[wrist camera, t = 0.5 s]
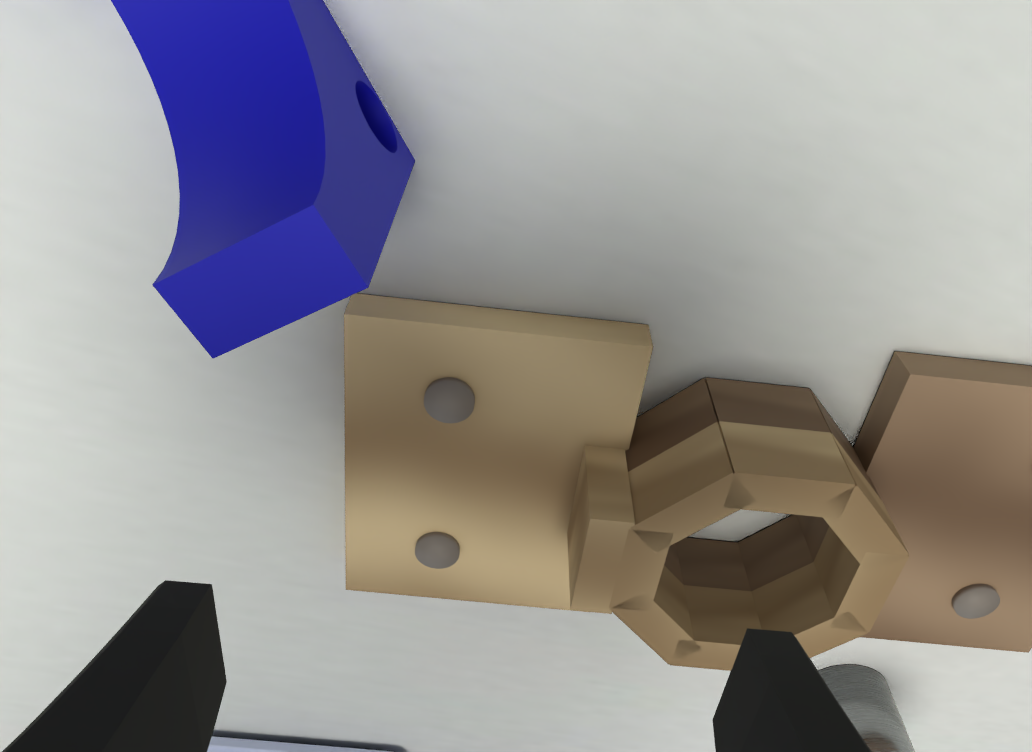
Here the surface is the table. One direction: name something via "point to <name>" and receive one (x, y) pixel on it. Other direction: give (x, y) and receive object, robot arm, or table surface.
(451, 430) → the hinge leaf
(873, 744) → the grey cylinder
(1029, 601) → the hinge plate
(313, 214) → the blue u-shaped block
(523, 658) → the table surface
